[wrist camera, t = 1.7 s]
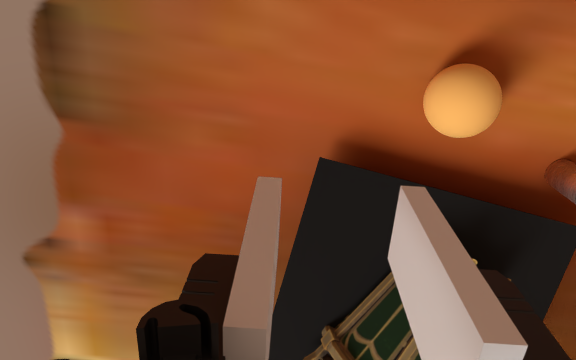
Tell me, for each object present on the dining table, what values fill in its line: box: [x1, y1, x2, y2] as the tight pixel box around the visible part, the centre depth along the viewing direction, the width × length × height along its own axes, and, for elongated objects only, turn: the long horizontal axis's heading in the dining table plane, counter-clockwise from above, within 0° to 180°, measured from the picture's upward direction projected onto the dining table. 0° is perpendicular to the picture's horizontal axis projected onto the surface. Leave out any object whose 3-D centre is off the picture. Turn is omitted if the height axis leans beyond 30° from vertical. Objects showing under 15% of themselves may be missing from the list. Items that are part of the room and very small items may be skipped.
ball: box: [423, 63, 502, 138], centre depth 32 cm, size 6×6×6 cm
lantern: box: [268, 157, 576, 360], centre depth 38 cm, size 14×23×30 cm
